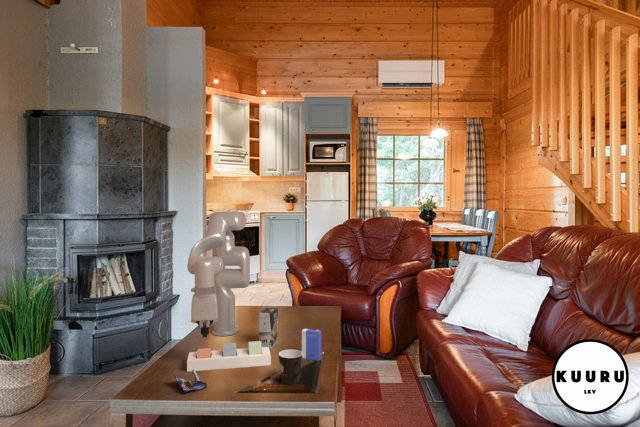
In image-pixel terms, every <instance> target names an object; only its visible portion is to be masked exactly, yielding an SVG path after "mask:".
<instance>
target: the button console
mask: <svg viewBox="0 0 640 427" xmlns="http://www.w3.org/2000/svg"><path fill="white" fill-rule="evenodd" d="M271 354H272V353H271V349H269V347H262V354H255V355H249V354H248V347H246V348H236V356H226V357H223V349H217V350H211V358H198V359H197V351H189V352H188V356H187V360H186V371H187V372H192V370H195V371H196V372H198V371H201V372H202V371H212V370H225V369H237V368H238V369H239V368H240V369H241V368H251V367H262V366H263V367H265V366H272V355H271Z"/></svg>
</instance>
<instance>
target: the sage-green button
mask: <svg viewBox="0 0 640 427" xmlns="http://www.w3.org/2000/svg"><path fill="white" fill-rule="evenodd" d="M247 343H248V347H247V348H248V354H249V355H255V354H262V345H261V341H259V340H256V341H248V342H247Z"/></svg>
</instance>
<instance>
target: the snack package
mask: <svg viewBox="0 0 640 427" xmlns="http://www.w3.org/2000/svg"><path fill="white" fill-rule="evenodd" d="M191 372H192V375H193V376H194V379H193V380H186V379H184V378H182V376H180V377H179V376H176V374H175V373H172V374H173V377H174V379H175V381H176V383H177V384H179V386H180V387H181V389H182V391H183V392H184V393H187V392H189V391H194V392H197V391H198V392H199V391H202V390H204V389H207V387H208V386H207V383H206V382H204V381H201V380H200V378H199V374H197V373H198V372H197V371H195V370H192V371H191ZM187 381H189V382H190V383H191V384H192V385H191V386H190V387H192V389H189V388H190V387H187V386H186V384H185V385H184V382H187ZM189 382H188V383H189ZM190 383H189V384H190ZM185 386H186V387H187V388H186V387H185ZM199 386H200V387H199ZM195 387H196V388H195Z"/></svg>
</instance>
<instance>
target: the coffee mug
mask: <svg viewBox="0 0 640 427" xmlns="http://www.w3.org/2000/svg"><path fill="white" fill-rule="evenodd" d="M278 360H279V367H280V368H279V370H280V377H281V378H280V379H281V383H282V384H285V385H296V384H299V382H300V377H301V373H302V360H303V358H302V350H300V349H299V350H298V349H291V348H290V349H284V350H281V351H279V352H278Z"/></svg>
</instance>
